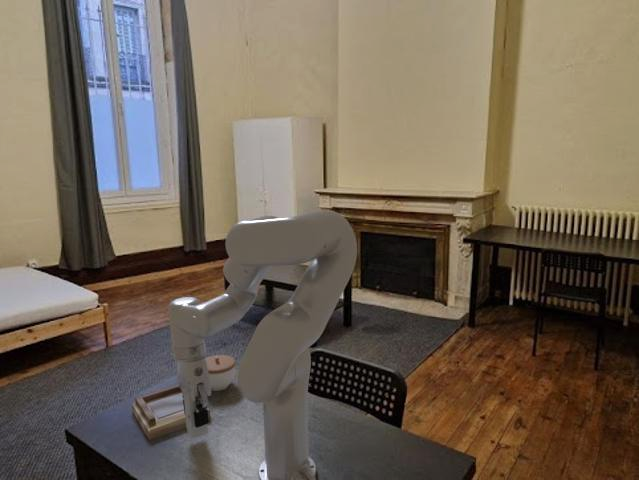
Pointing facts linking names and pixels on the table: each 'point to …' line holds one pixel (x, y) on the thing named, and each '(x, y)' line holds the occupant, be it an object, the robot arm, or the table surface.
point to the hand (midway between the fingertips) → (196, 418)
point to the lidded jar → (220, 371)
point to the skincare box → (190, 418)
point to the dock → (161, 411)
